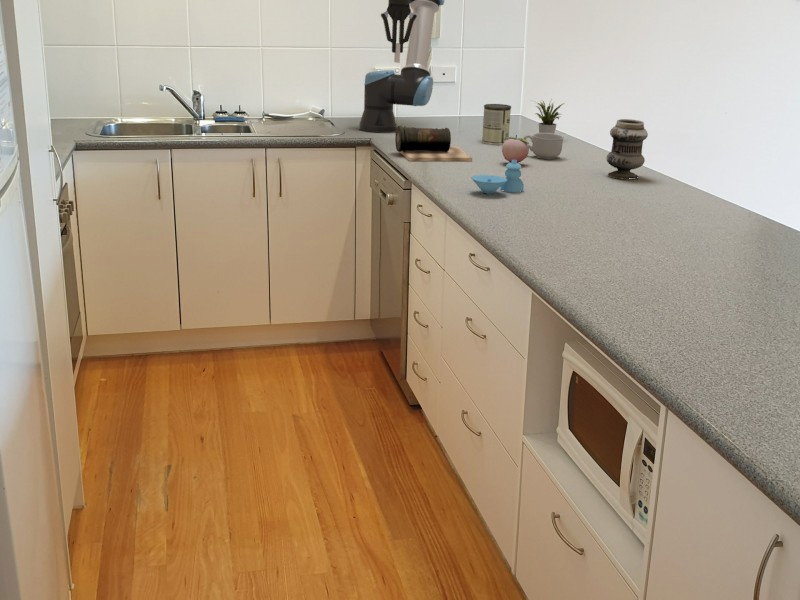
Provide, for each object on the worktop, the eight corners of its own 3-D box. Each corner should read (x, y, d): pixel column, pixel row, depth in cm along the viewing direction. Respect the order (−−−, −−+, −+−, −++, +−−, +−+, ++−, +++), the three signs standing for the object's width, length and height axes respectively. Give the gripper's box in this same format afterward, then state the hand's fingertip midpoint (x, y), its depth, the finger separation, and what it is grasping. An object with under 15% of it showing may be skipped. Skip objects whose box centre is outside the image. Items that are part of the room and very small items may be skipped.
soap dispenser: (486, 199, 257) (489, 167, 254) (462, 191, 265) (464, 161, 262) (532, 192, 268) (535, 162, 264) (507, 185, 275) (510, 156, 272)
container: (395, 126, 318) (444, 127, 322) (395, 152, 319) (444, 153, 323) (400, 124, 310) (451, 125, 314) (400, 151, 310) (451, 152, 314)
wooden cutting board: (408, 161, 306) (409, 157, 305) (397, 149, 326) (397, 146, 326) (472, 161, 310) (472, 157, 310) (456, 149, 330) (456, 146, 330)
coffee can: (481, 139, 353) (484, 103, 349) (508, 141, 353) (511, 104, 348) (481, 144, 344) (483, 106, 339) (508, 145, 343) (511, 107, 338)
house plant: (520, 140, 356) (524, 97, 351) (529, 135, 368) (533, 94, 363) (556, 143, 351) (560, 101, 346) (564, 138, 363) (568, 97, 358)
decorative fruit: (497, 165, 305) (499, 135, 302) (503, 161, 313) (505, 132, 309) (524, 168, 302) (527, 138, 299) (530, 163, 310) (532, 134, 306)
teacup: (565, 157, 325) (567, 134, 322) (556, 161, 316) (558, 138, 313) (527, 152, 330) (529, 130, 328) (518, 157, 321) (520, 134, 318)
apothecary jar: (621, 181, 287) (628, 124, 281) (596, 174, 297) (603, 118, 291) (650, 179, 293) (657, 123, 287) (625, 172, 303) (632, 117, 297)
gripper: (383, -8, 315) (380, 62, 323) (419, -6, 317) (416, 63, 325) (379, -8, 322) (377, 60, 330) (415, -7, 324) (412, 61, 332)
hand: (396, 62), depth 328 cm, fingers closed
